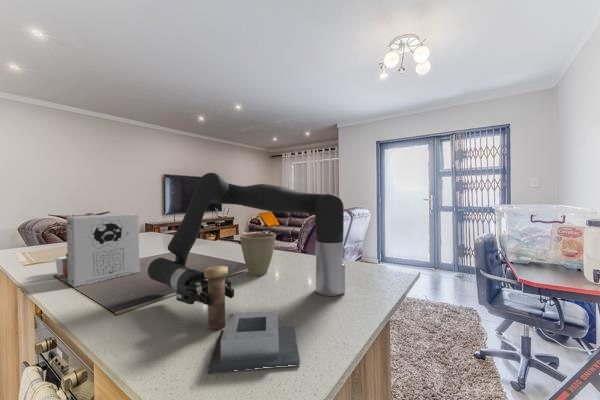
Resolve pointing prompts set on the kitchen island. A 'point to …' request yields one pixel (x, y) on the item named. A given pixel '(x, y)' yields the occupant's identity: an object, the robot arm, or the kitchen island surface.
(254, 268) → the plant pot
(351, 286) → the kitchen island surface
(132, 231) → the cereal box
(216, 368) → the steel receiver
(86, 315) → the kitchen island surface
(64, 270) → the lighter
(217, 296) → the walnut pin
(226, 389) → the kitchen island surface
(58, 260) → the shot glass
